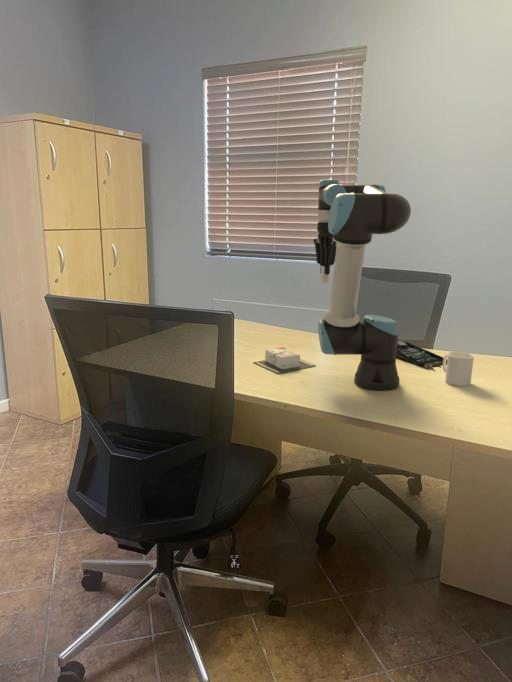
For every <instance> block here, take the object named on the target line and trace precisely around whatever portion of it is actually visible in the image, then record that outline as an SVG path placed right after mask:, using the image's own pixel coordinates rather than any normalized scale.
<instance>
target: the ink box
mask: <svg viewBox="0 0 512 682" xmlns="http://www.w3.org/2000/svg"><path fill="white" fill-rule="evenodd" d="M300 359H301V356H300V354H298V353H296V352H294V351H293V350H290V349H288V348H286V347H284V346H283V347H282V346H281V347H274V348H269V349H265V357H264V360H265V361H266V362H268V363H270V364H272V365H274V366H276V367H278V368H280V369H288V368H295V367H299V366H300Z"/></svg>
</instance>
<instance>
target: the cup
mask: <svg viewBox="0 0 512 682" xmlns="http://www.w3.org/2000/svg"><path fill="white" fill-rule="evenodd" d="M443 358H444V359H443V364H442V370H443V372H444V373H445V378H444V379H445V383H446V384H448V385H450V386H455V387H460V388H461V387H468V386H470V385H471V382H472V374H473V366H474V359H475V356H474V354H472V353H470V352H463V351H450V352H448V353H446V354H444V357H443ZM446 360H447V364H446Z"/></svg>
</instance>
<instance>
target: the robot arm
mask: <svg viewBox="0 0 512 682" xmlns="http://www.w3.org/2000/svg"><path fill="white" fill-rule="evenodd" d="M317 206H318V208H317V221H318V222H317V224H316V225H317V226H316V227H317V228H316V230H317V232H318V234H317V238H313V243H314V247H315V249H314V250H315V257H316V263H317V264H319V266H320V283H322V284H325V283H329V275H330V272H331V271H330V270H331V266H333V274H332V275H333V276H332V285H331V293H330V302H329V309H328V310H327V311H326V312H325V313H324V316H323V319H319V320H318V322H317V329H318V330H317V331H318V340H319V346H320V350H321V352H322V353H323V354H324V355H333V356H336V355H340V356H341V355H344V356H345V355H346V356H347V355H353V356H354V355H355V356H356V355H360V362H359V364H358V366H357V370H356V372H355V374H354V380H353V382H354V383H355V384H356V386H358V387H361V388H363V389H366V390H371V391H372V390H373V391H392V390H395V389H397V388H399V386H400V377H399V373H398V369H397V364H396V363H397V362H396V361H397V360H396V359H397V356H396V352H397V342H399V341H398V340H399V338H398V337H399V324H398V322H397V321H396V320H394V319H392V318H390V317H387V316H383V315H382V316H381V315H375V314H365V315H363V318H362V319H360V316H359V314H357V307H358V300H359V294H360V293H359V292H360V287H361V281H362V280H361V279H362V272H363V264H364V257H365V250H366V247H367V246H368V245H369V244H370V243H371V242H372V239H373V235H387V234H391V233H394V232H397V231H398V230H401V228H403V227H405V225H406V224H407V223H408V221H409V220H410V217H411V213H412V209H411V204H410V203H409V201H408V200H407V198H405V197H404V196H402V195H401V194H398V193H388V192H387V191H386V188H385V186H384V185H382V184H381V185H379V184H340V182H339V180H338V179H321V180H319V183H318V205H317Z"/></svg>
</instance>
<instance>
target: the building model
mask: <svg viewBox="0 0 512 682" xmlns="http://www.w3.org/2000/svg"><path fill="white" fill-rule="evenodd" d="M396 357H398V358H401V359H403V360H405V361H407V362H409V363H412V364H414V365H415V366H418V367H420V368H424V369H425V370H428V371H429V370H432V371H433V372H436V369H434V368H433V367H435V366H436V367H439V368H442V366H440V365H443V359H444V357H443V356H440V355H438V354H437V353H434V352H432V351H429V350H427V349H424V348H422V347H419V346H418V345H415V344H414V343H410V342H408V341H406V340H402V341H400V340H399V341H397V352H396ZM446 365H447V360H446Z"/></svg>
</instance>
